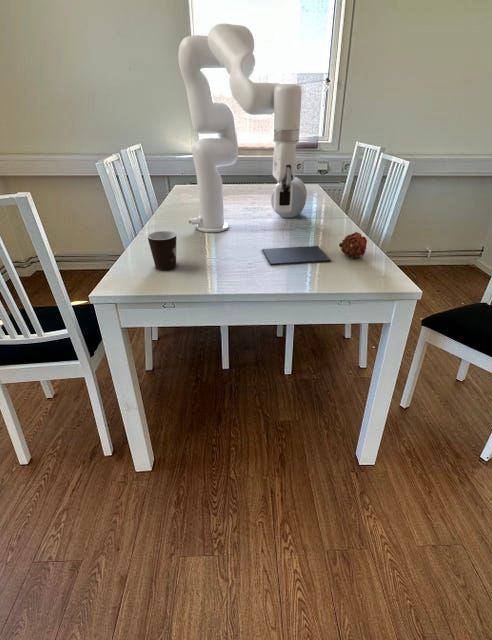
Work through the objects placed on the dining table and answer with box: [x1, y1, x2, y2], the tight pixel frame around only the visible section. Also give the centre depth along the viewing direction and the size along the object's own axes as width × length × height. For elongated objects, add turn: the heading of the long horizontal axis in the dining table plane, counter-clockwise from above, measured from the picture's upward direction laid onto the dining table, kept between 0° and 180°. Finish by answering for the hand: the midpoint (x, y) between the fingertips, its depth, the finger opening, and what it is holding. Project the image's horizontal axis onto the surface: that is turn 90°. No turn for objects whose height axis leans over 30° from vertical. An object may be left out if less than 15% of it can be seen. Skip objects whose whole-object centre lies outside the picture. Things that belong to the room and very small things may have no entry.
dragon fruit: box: [338, 231, 368, 260], centre depth 131 cm, size 8×8×12 cm
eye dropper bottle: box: [273, 178, 293, 214], centre depth 121 cm, size 4×6×12 cm
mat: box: [262, 245, 331, 266], centre depth 133 cm, size 20×14×1 cm
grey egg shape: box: [268, 176, 308, 219], centre depth 175 cm, size 19×15×25 cm
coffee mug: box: [146, 230, 177, 272], centre depth 122 cm, size 12×9×10 cm
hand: (282, 202), depth 123 cm, fingers closed on eye dropper bottle, 3 cm apart
